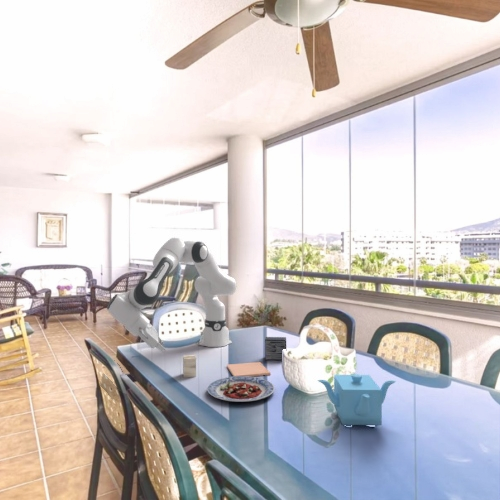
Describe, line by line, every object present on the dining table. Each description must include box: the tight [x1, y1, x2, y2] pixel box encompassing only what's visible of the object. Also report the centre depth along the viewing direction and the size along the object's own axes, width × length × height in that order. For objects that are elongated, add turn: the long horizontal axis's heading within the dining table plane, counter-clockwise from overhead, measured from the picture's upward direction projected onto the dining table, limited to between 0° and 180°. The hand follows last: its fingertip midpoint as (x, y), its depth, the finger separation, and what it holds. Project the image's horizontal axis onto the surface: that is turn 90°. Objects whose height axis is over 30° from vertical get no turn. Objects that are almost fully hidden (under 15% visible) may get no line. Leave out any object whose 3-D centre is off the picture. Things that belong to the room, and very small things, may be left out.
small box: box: [264, 336, 287, 362], centre depth 194 cm, size 11×6×10 cm, turn 84°
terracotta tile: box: [226, 361, 271, 377], centre depth 176 cm, size 16×16×1 cm
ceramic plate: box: [207, 376, 276, 403], centre depth 150 cm, size 26×26×3 cm
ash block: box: [182, 354, 197, 378], centre depth 170 cm, size 5×5×8 cm
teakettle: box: [317, 373, 397, 426], centre depth 126 cm, size 19×19×15 cm
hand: (163, 347), depth 167 cm, fingers open, 8 cm apart
